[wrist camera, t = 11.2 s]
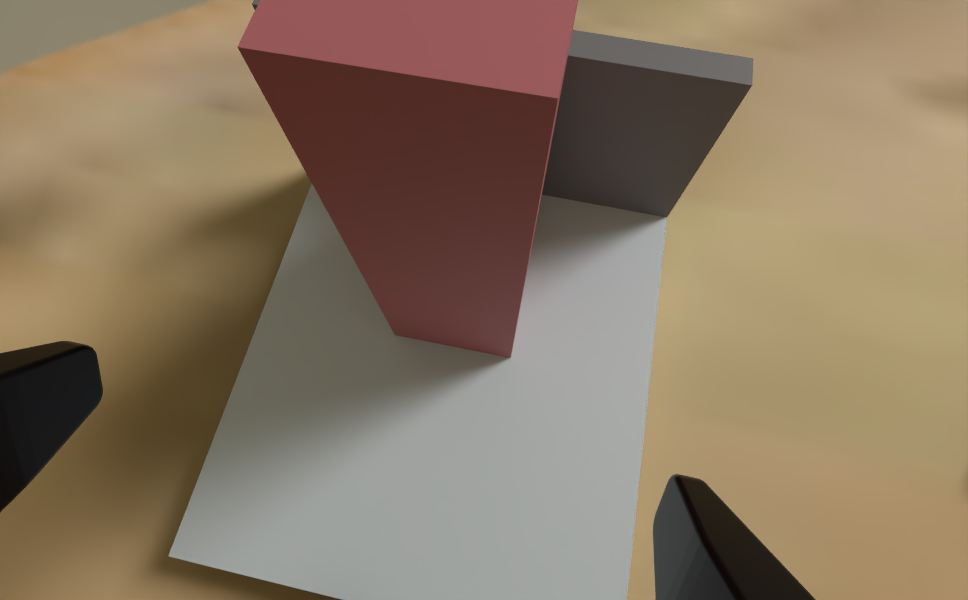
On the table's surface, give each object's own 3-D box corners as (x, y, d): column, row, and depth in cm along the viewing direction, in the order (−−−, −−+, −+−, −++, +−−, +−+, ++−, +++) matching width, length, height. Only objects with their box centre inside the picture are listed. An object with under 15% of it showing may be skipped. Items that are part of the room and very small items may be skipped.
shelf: (606, 652, 15) (720, 795, 7) (197, 551, 15) (-44, 593, 8) (656, 214, 19) (753, 51, 12) (342, 156, 20) (266, -25, 13)
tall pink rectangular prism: (510, 358, 16) (558, 98, 6) (394, 335, 16) (237, 46, 6) (537, 214, 18) (612, -184, 7) (433, 196, 18) (362, -214, 8)
